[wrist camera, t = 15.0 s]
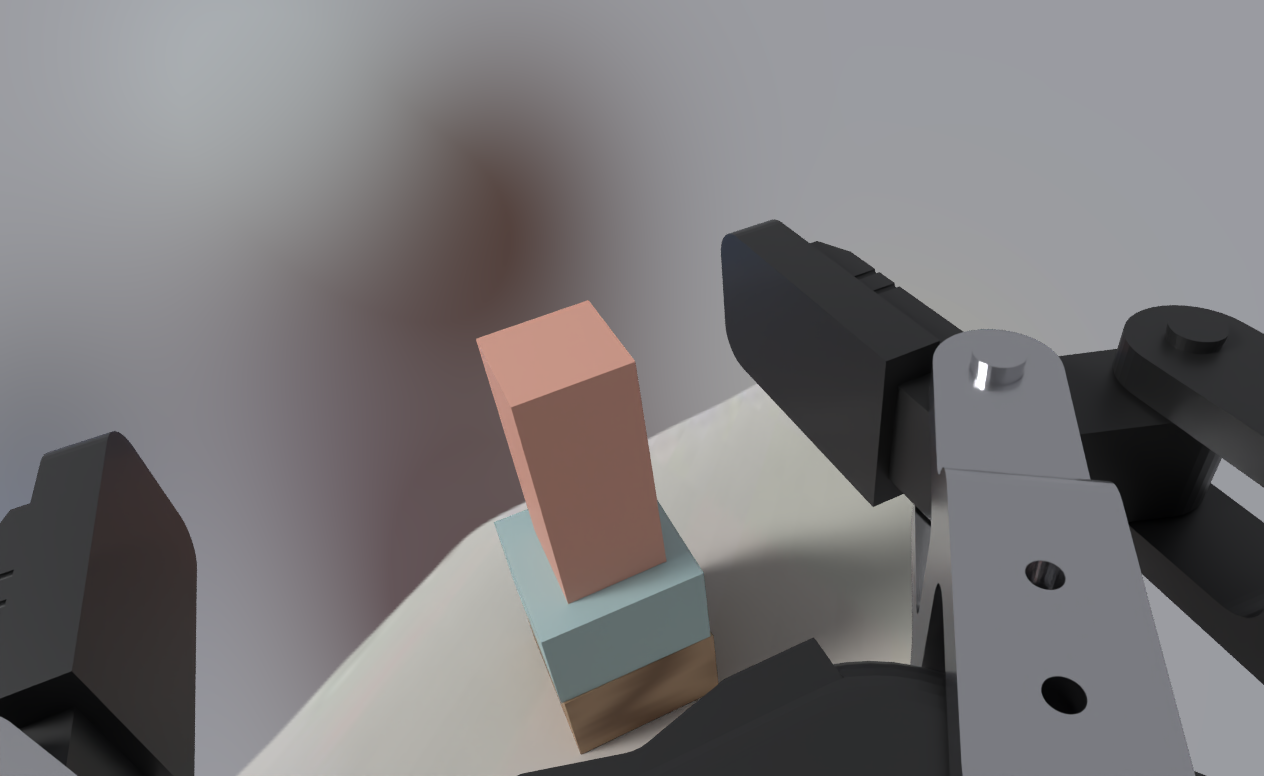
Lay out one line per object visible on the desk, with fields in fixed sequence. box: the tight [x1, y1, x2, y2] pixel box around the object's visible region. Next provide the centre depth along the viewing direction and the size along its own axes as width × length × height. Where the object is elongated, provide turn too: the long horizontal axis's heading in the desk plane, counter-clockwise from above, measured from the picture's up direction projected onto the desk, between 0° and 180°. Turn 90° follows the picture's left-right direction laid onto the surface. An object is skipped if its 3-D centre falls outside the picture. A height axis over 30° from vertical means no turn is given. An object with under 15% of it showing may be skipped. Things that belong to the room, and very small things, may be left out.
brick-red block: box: [476, 300, 666, 604], centre depth 36 cm, size 5×5×12 cm
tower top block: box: [494, 500, 710, 703], centre depth 42 cm, size 8×8×5 cm
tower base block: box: [528, 619, 718, 754], centre depth 45 cm, size 8×8×5 cm
